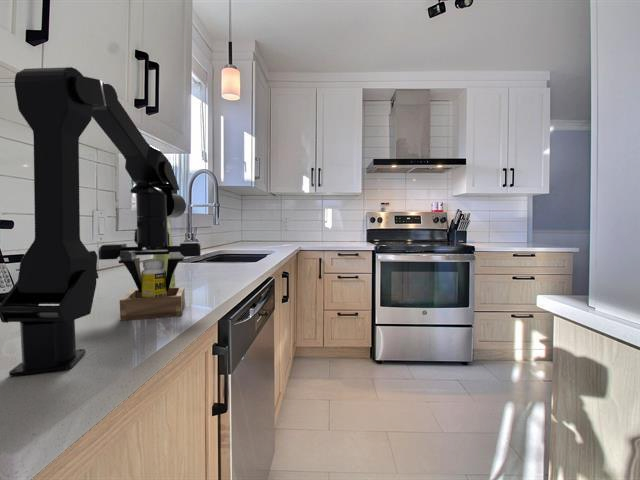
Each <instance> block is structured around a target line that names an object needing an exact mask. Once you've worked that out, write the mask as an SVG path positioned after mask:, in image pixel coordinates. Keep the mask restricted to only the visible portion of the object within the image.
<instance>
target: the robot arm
mask: <svg viewBox="0 0 640 480" xmlns="http://www.w3.org/2000/svg"><path fill="white" fill-rule="evenodd" d="M14 92H15V97H16V102H17V108H18V111H19V113H20V115H21V116H22V118H23V120H24V121H25V122H26V124H27V126H29V128H30V129H31V131H32V134H33V192H34V195H33V196H34V197H33V198H34V200H33V201H34V240H33V241H32V243H31V244H30V246H29V248H27V250H26V252H25V253H24V255H23V256H22V258H21V260H20V263H19V271H18V276H17V281H16V282H15V283H14V285H13V286H12V287H11V289H10V290H9V291H8V292H7V294H6V296H5V297H4V298H3V300H2V301H1V302H0V321H1V323H3V324H4V323H5V324H6V323H19V327H20V346H21V347H20V348H21V361H20V363H19V364H17V365H16V366H14V367H13V368H12V369H11V370H9V372H8V375H9V377H10V376H11V377H13V376H21V375H30V374H31V375H32V374H39V373H47V372H56V371H65V370H69V369H71V368H72V367H73V366H75V364H76V363H77V362H78V361H79V360H80V359H81V358H82V357H83V356H84V354H86V349H85V348H79V349H77V343H76V325H75V324H76V320H77V319H80V318H83V317H86V316H89V315H91V312H92V308H93V302H94V298H95V292H96V287H97V280H98V279H99V274H98V268H97V267H98V266H97V265H98V260H101V261H102V260H104V261H105V260H117V259H119V260H118V264H123V265H124V266H125V268H126V269H127V271H128V272H129V273H130V275H131V277H132V279H133V281H134V284H135V285H136V286H135V287H136V288H137V290H139V292H140V293H142V280H141V272H142V271H141V263H140V262H141V259H140V258H141V257H138V256H148V255H149V256H154V255H157V254H169V256H171V257H170V258H169V259H168V264H167V276H166V291H168V290H169V287H170V284H171V281H172V277H173V274H174V271H176V268H177V267H178V264H179V262H184V260H185V258H189V257H190V258H191V257H193V258H194V257H201V255H202V254H201V253H202V251H201V250H202V249H201V243H200V242H198V241H193V242H191V241H188V242H187V241H185V242H182V241H181V242H180V244H179V245H172V246H169V245H170V239H169V232H168V229H167V220H168V218H173V219H177V218H179V217H181V216H183V214H185V212H186V210H187V203H186V201H185V199H184V197H182V196H181V195H180V194H178V191H179V190H180V186H179V184H178V180H177V177H176V174H175V172H174V169H173V166H172V163H171V162H170V161H169V159H168V158H167V157H166V155H165V154H164V153H163V152H162V151H161V150H160V149H158V148H156V147H154V146H152V145H150V144H149V143H148V142H147V140H146V139H145V138H144V136H143V135H142V133H141V131H140V129H138V127H137V125H136V124H135V123H134V121H133V119H132V118H131V116H130V115H129V114H128V112H127V111H126V109H125V108H124V106H123V105H122V103H121V102H120V100H119V97H118V93H117V90H115V87H114V86H113V85H112V84H109V83H106V82H103V81H102V80H101V79H97V78H95V77H88V76H84V75H83V74H82V72H80V71H79V70H78V69H77V68H75V67H72V66H70V67H69V66H68V67H67V66H66V67H37V68H33V67H32V68H24V69H22V70H20V71H17V72H16V73H15V77H14ZM92 118H93V120H94V121H95V122H96V123H97V125H98V126H99V127H100V129H101V130H102V131H103V132H104V134H105V135H106V136H107V137H108V139H109V140H110V141H111V143H112V144H113V145H114V146H115V147H116V149H117V150H118V151H119V152H120V154H121V155H122V157H123V158H124V160H125V166H124V169H125V171H126V172H127V174H128V175H129V176H130V178H131V180H132V181H133V183H134V184H135V186H133V187H132V188H131V189H130V193H131V194H136V195H135V197H136V198H135V199H136V200H135V203H136V207H135V208H136V228H135V229H134V243H135V244H136V245H137V246H127V243H106V244H102V245H101V246H100V247H99V248H98V254H97V252H96V251H95V250H88V249H87V247H86V246H85V244H84V243H83V241H82V240H81V229H80V227H81V219H80V152H79V151H80V148H79V147H80V144H79V143H80V137H81V136H82V134H83V133H84V131H85V129H87V127H88V125H89V124H90V122H91V121H92Z"/></svg>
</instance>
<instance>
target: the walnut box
mask: <svg viewBox="0 0 640 480" xmlns="http://www.w3.org/2000/svg"><path fill="white" fill-rule="evenodd" d="M185 290H186V289H185V286H175V287H172V288H169V290H168V291H167V296H162V297H146V298H142V293H140V292H139V290H138V289H131V290H130V291H128V292H127V293H126V294H125V295H124V296H123V297H122V298H121V299H119V319H120V322H122V321H123V322H124V321H134V320H146V319H158V318H169V317H181V316H182V315H183V313H184V309H185V306H186V305H185V304H186V299H185V298H186V297H185V296H186V294H185Z"/></svg>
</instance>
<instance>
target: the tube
mask: <svg viewBox="0 0 640 480" xmlns="http://www.w3.org/2000/svg"><path fill="white" fill-rule="evenodd" d="M170 225H171V224H170V220H169V219H167V229H168V232H169V239H170V245H169V246H173V238H172V231H171V226H170ZM170 257H171V256H169V254H157V255H153V260H164V267H163V268H164V269H165V270H166V276H167V264H168V259H169V258H170ZM175 271H176V270H175ZM175 271H174V274H173V277H172V281H171V284H170V287H169V288H172V287H176V274H175Z"/></svg>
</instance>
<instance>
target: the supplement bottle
mask: <svg viewBox="0 0 640 480" xmlns="http://www.w3.org/2000/svg"><path fill="white" fill-rule="evenodd" d="M163 267H164V260H154V259H149V260H146V259H145V260H143V261H142V268H143V270H142V271H141V280H142V298H146V297H162V296H167V291H166V270H165V269H164V268H163Z"/></svg>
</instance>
